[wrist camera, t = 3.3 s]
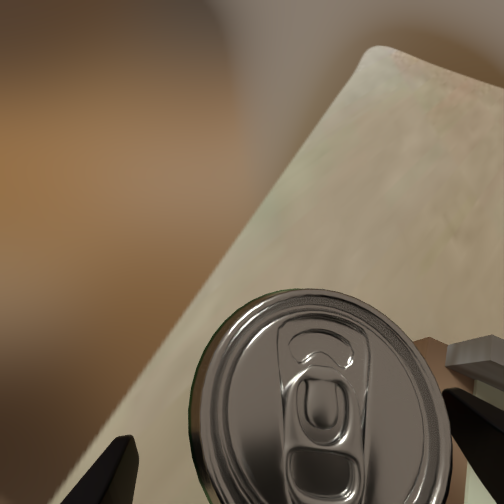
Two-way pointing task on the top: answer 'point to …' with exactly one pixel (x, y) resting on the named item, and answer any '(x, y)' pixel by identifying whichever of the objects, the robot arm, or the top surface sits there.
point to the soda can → (317, 407)
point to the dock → (475, 382)
